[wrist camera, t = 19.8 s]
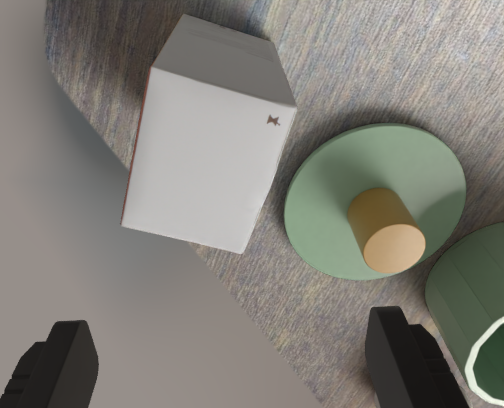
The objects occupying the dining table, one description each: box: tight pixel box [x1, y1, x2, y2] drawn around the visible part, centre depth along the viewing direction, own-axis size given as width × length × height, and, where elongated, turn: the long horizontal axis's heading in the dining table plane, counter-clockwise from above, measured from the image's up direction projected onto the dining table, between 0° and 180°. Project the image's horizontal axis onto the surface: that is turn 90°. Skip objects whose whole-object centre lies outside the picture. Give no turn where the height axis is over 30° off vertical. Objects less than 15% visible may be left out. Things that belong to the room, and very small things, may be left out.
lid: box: [284, 123, 466, 280], centre depth 33 cm, size 14×14×6 cm
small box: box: [120, 14, 298, 254], centre depth 25 cm, size 8×6×13 cm
